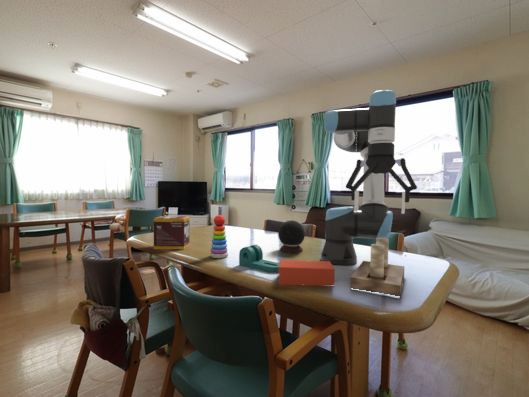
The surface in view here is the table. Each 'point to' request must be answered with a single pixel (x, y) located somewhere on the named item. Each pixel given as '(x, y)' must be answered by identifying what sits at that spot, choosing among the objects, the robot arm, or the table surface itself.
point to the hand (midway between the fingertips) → (378, 212)
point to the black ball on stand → (291, 236)
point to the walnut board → (386, 286)
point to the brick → (306, 272)
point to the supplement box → (171, 232)
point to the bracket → (256, 259)
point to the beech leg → (377, 261)
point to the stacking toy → (219, 239)
